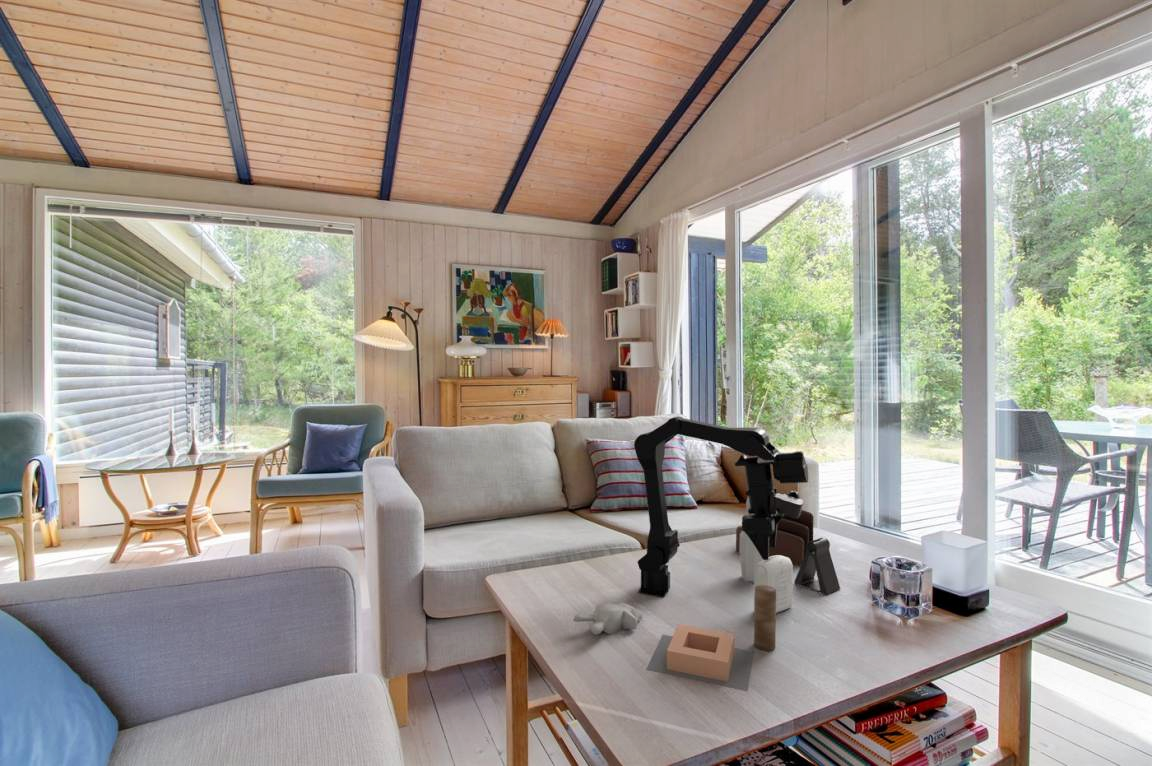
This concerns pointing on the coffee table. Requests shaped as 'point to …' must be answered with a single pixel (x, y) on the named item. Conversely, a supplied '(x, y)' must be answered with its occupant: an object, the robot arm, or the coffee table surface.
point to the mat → (736, 677)
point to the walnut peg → (765, 618)
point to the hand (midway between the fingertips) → (769, 553)
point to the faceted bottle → (748, 554)
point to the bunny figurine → (611, 618)
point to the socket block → (701, 652)
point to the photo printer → (776, 579)
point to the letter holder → (789, 536)
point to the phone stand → (818, 568)
